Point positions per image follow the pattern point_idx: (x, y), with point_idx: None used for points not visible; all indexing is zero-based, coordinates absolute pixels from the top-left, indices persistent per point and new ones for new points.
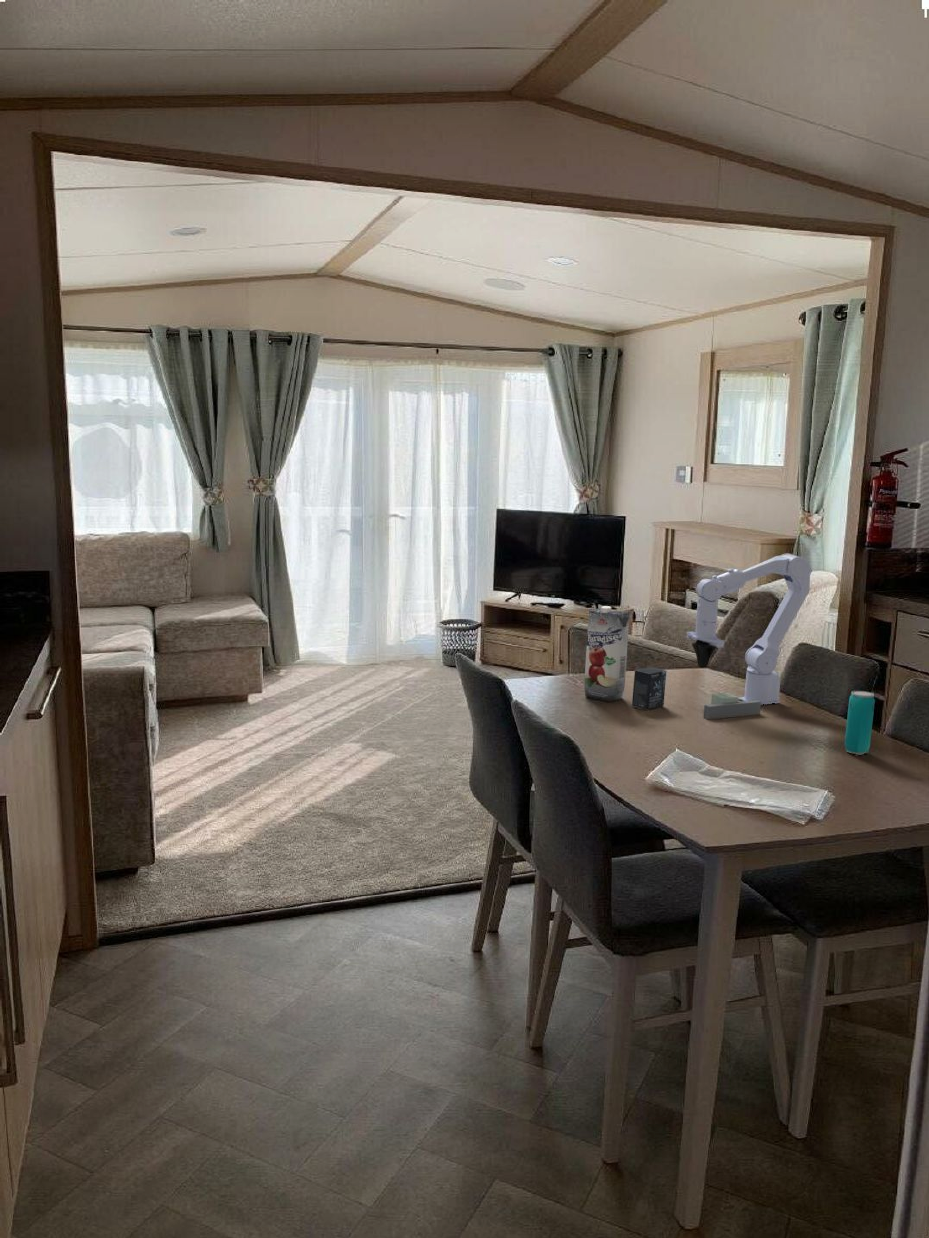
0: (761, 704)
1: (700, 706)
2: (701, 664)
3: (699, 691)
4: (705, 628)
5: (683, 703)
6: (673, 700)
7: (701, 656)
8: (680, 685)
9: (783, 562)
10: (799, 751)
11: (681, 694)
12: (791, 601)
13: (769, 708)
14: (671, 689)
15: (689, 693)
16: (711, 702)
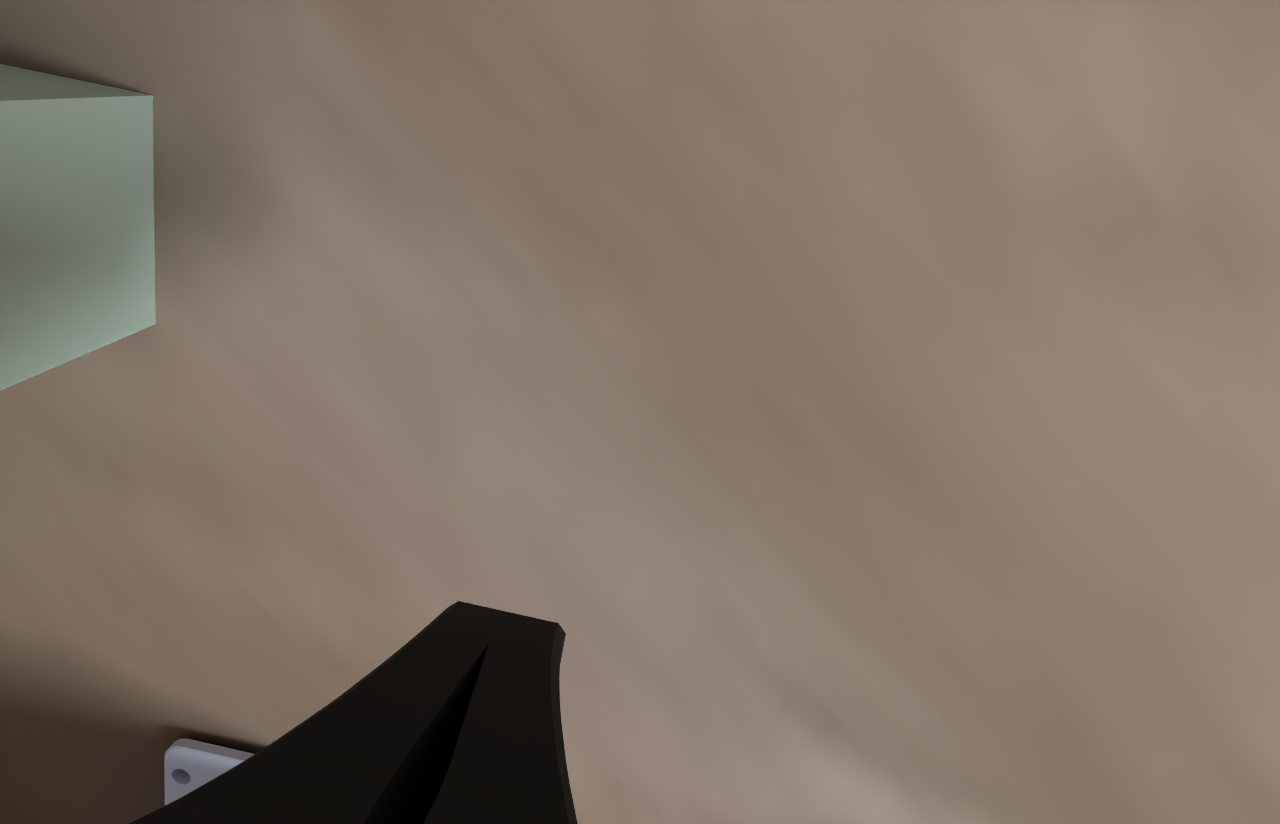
0: (170, 796)
1: (382, 161)
2: (409, 642)
3: (927, 746)
4: None
5: (605, 64)
6: (803, 63)
7: (256, 760)
8: (1271, 791)
9: None
10: None
11: (965, 447)
12: None
13: (64, 762)
14: (1229, 543)
15: (936, 575)
16: (65, 95)
